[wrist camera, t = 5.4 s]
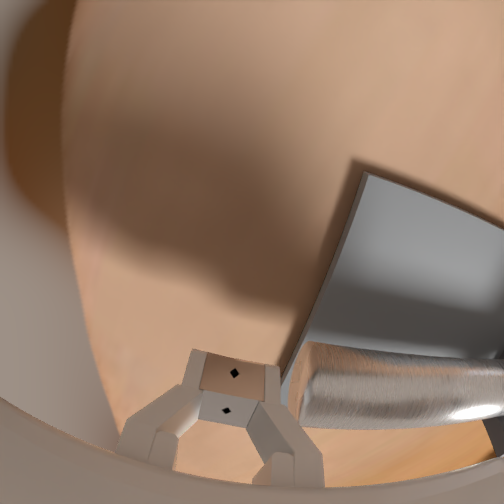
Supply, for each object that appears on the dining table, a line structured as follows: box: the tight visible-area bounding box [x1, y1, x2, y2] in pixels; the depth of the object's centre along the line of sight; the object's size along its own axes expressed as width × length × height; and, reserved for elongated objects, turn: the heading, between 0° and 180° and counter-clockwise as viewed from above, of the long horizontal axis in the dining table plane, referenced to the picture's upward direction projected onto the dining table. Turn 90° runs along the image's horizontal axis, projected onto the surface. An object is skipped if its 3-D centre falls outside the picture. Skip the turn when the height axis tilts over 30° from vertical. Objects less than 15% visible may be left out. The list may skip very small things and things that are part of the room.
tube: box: [288, 341, 504, 430], centre depth 11 cm, size 4×20×4 cm, turn 77°
